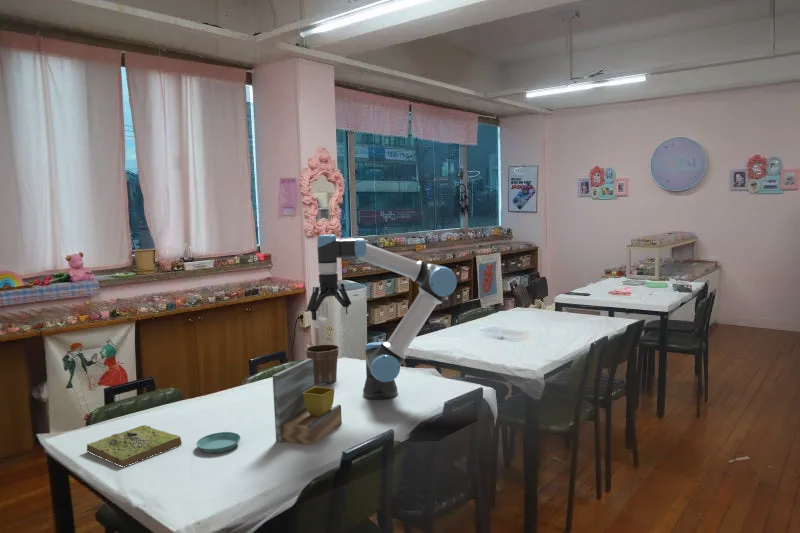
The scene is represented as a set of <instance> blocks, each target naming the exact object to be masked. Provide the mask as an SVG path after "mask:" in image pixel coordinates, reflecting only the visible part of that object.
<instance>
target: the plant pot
mask: <svg viewBox="0 0 800 533" xmlns="http://www.w3.org/2000/svg"><path fill="white" fill-rule="evenodd" d="M339 350H340V346H339V345H337V344H317V345H315V344H314V345H311V346H308V347H306V348H305V350H304V351H305V353H306V359H313V369H314V385H326V384H330V383H334V382H336V381H337V370H338V356H339Z"/></svg>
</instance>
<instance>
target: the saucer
mask: <svg viewBox="0 0 800 533" xmlns="http://www.w3.org/2000/svg"><path fill="white" fill-rule="evenodd" d="M240 440H241V435H240V434H239V433H236V432H233V431H232V432H231V431H222V432H221V431H220V432H215V433H211V434H208V435H205V436H203V437H200V438H199V439H198V440H197V441H196V443H195V444H196V446H197V447H198V448H199V449H200V450H201V451H203V452H204V453H206V454H218V453H225V452H228V451H230V450H232V449H233V448H235V446H236V445H238V443H239V442H240Z"/></svg>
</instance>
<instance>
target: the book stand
mask: <svg viewBox="0 0 800 533" xmlns="http://www.w3.org/2000/svg"><path fill="white" fill-rule="evenodd" d="M271 377H272V388H273V390H272V393H273V409H274V411H273V412H274V428H275V441H276V442H279V443H281V442H287V443H294V444H300V445H308V446H312V445H314V444H315V443H317V442H319V441H320V440H321V439H323V437H325V436H327V435H328V434H329V433H331V432H332V431H333V430H335V429H336V428H338V427H339V426H340V425H341V424H343V421H342V417H343V416H342V405H341V404H337V405H335V406H332V407H331V409H330V410H329V411H328V412H326V413H325V414H323V415H322V416H313V415H310V414H309V412H308V411H307V409H306V407H305V403H304V398H303V392H305V391H307V390H309V389H311V388H313V387H315V383H314V369H313V359H308V358H306V359H305V360H302V361H301V362H298V363H296V364H294V365H292V366H289V367H287V368H286V369H283V370H281V371H278V372H276V373H274V374H272V376H271Z"/></svg>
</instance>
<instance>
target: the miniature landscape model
mask: <svg viewBox="0 0 800 533" xmlns="http://www.w3.org/2000/svg"><path fill="white" fill-rule="evenodd" d="M181 444H183V443H182V438H181V436H179V435H178V434H173V433H169V432H167V431H165V430H159V429H156V428H153V427H151V426H150V425H146V424H144V425H139V426H137V427H134V428H131V429H128V430H125V431H122V432H118V433H113V434H112V435H110V436H107V437H104V438H101V439H99V440H97V441H94V442H93V441H92V442H90V443H87V444H86V452H87V451H89V452H91V453H93V454H95V455H97V456H100V457H102V458H104V459H107V460H109V461H111V462H113V463H116V464H118V465H121V466H126V465H129V464H132V463H135V462H137V461H140V460H142V459H145V458H147V457H150V456H152V455H155V454H158V453H160V452H163V451H165V450H168V449H171V448H173V449H175V448H174V447H176V446H178V447H180V446H179V445H181ZM181 446H182V445H181ZM176 448H177V447H176ZM171 450H172V449H171ZM168 451H169V450H168ZM163 453H164V452H163ZM160 454H161V453H160ZM158 455H159V454H158ZM155 456H156V455H155ZM150 458H151V457H150ZM145 460H146V459H145ZM140 462H141V461H140ZM137 463H138V462H137ZM135 464H136V463H135ZM132 465H133V464H132Z"/></svg>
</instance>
